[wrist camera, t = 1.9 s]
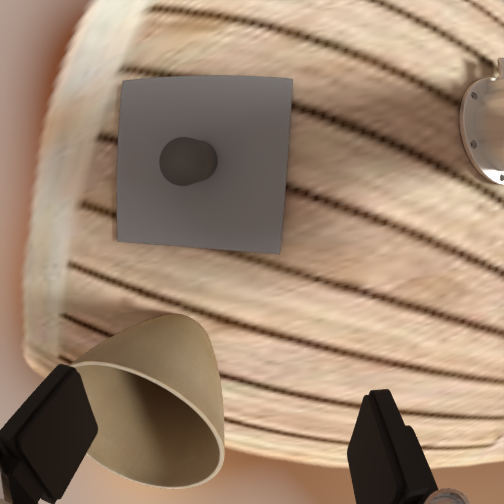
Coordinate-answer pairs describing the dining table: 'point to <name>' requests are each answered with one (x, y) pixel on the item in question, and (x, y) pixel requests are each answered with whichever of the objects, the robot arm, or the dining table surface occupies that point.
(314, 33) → the dining table surface
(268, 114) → the lid
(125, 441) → the plant pot
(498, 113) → the robot arm
